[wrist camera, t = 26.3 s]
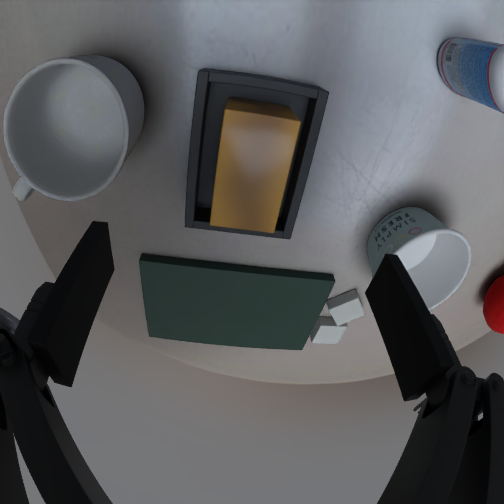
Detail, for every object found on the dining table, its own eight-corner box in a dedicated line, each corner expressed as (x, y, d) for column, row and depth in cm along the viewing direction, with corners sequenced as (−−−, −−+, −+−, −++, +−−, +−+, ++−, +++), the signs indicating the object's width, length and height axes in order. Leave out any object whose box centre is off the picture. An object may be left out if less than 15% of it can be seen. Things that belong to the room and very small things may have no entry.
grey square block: (309, 334, 42) (311, 343, 41) (318, 316, 39) (320, 325, 38) (335, 335, 42) (337, 343, 41) (345, 317, 40) (347, 326, 39)
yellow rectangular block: (215, 193, 27) (209, 225, 23) (228, 96, 22) (224, 108, 17) (268, 200, 28) (274, 233, 24) (289, 106, 22) (301, 121, 18)
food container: (408, 174, 27) (440, 207, 22) (458, 230, 31) (485, 263, 26) (334, 253, 33) (349, 296, 28) (394, 291, 37) (411, 329, 32)
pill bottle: (454, 104, 22) (533, 147, 13) (425, 53, 19) (511, 74, 10) (487, 77, 19) (566, 110, 10) (461, 27, 16) (547, 42, 8)
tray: (189, 209, 29) (184, 227, 26) (203, 68, 21) (198, 70, 18) (286, 221, 30) (290, 239, 28) (319, 87, 22) (329, 92, 19)
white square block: (335, 317, 40) (337, 326, 38) (326, 300, 37) (328, 310, 36) (362, 306, 39) (365, 315, 37) (355, 288, 36) (358, 297, 35)
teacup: (123, 28, 18) (76, 25, 11) (179, 128, 24) (155, 161, 18) (20, 116, 21) (-31, 145, 15) (71, 195, 27) (33, 240, 21)
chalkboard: (150, 329, 41) (148, 336, 40) (141, 253, 32) (139, 260, 31) (301, 343, 43) (302, 350, 42) (333, 274, 35) (335, 281, 34)
